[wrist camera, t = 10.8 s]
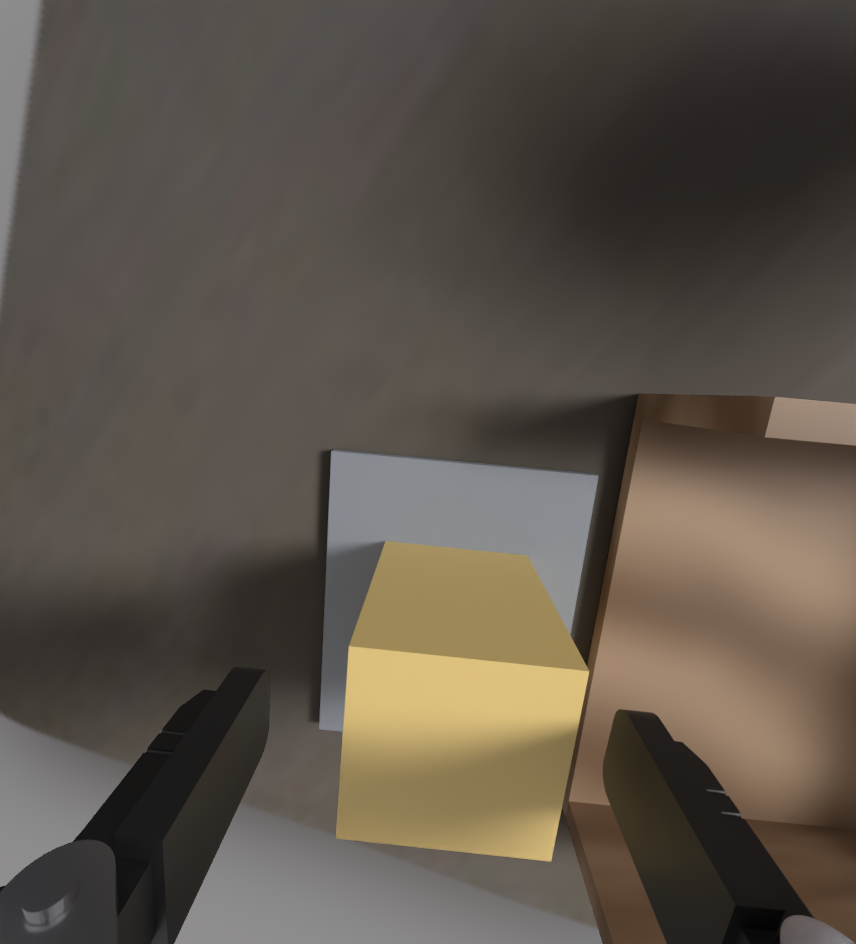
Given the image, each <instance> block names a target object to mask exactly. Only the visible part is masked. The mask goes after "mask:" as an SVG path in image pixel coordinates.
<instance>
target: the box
mask: <svg viewBox="0 0 856 944" xmlns="http://www.w3.org/2000/svg"><path fill="white" fill-rule="evenodd" d="M587 668H588V670H589V676H588V681H587V686H586V691H585V696H584V701H583V706H582V711H581V716H580V721H579V726H578V731H577V736H576V741H575V745H574V750H573V755H572V760H571V765H570V770H569V775H568V780H567V785H566V790H565V795H564V800H563V805H562V808H563V811H564V814H565V818H566V821H567V825H568V828H569V831H570V835H571V838H572V841H573V845H574V848H575V852H576V855H577V858H578V862H579V865H580V868H581V872H582V875H583V879H584V882H585V885H586V889H587V892H588V895H589V899H590V902H591V906H592V909H593V912H594V916H595V919H596V922H597V926H598V929H599V933H600V936H601V939H602V943H603V944H667V943H666V941H665V938H664V936H663V933H662V931H661V928H660V926H659V923H658V921H657V919H656V916H655V914H654V911H653V909H652V906H651V904H650V901H649V899H648V896H647V894H646V891H645V889H644V887H643V884H642V882H641V879H640V877H639V874H638V872H637V869H636V867H635V864H634V862H633V859H632V857H631V854H630V852H629V850H628V847H627V845H626V842H625V840H624V837H623V835H622V832H621V830H620V827H619V825H618V822H617V820H616V818H615V815H614V813H613V810H612V808H611V805H610V803H609V800H608V798H607V795H606V792H605V787H604V782H603V761H604V756H605V752H606V748H607V744H608V740H609V736H610V732H611V727H612V723H613V719H614V716H615V713H616V711H617V710H619V709H624V710H633V711H643V712H652V713H654V714H656V715H657V716H658V717H659V718H660V720H661V721H662V723H663V724H664V726H665V727H666V729H667V730H668V732H669V733H670V735H671V737H672V738H673V740H674V741H678V742H683V743H684V744H685V745H686V746H687V747H688V748H689V749H690V750H692V751H693V752H694V753H695V754H696V755H697V756H698V757H699V758H700V759H701V760H702V761H703V762H705V763H706V764H707V766H708V767H709V768H710V770H711V771H712V773H713V774H714V776H715V777H716V778H717V780H718V781H719V783H720V784H721V786H722V787H723V788H724V790H725V794H726V796H729V797H730V799H731V800H732V801H733V803H734V804H735V806H736V807H737V809H738V810H739V811H740V814H741V817H742V819H745V820H746V821H747V823H748V824H749V826H750V827H751V829H752V830H753V831H754V833H755V834H756V836H757V837H758V839H759V840H760V841H761V843H762V844H763V846H764V847H765V849H766V850H767V851H768V853H769V854H770V856H771V857H772V859H773V860H774V861H775V863H776V864H777V866H778V867H779V869H780V870H781V871H782V873H783V874H784V876H785V877H786V879H787V880H788V881H789V883H790V884H791V886H792V887H793V889H794V890H795V891H796V893H797V894H798V896H799V897H800V899H801V900H802V902H803V903H804V904H805V906H806V907H807V909H808V910H809V912H810V913H811V914H812V915H813V917H814V918H815V919H817V920H819V921H821V922H824V923H826V924H828V925H829V926H831V927H833V928H835V929H836V930H838V931H839V932H841V933H842V934H844V935H845V936H846V937H848V938H849V939H850V940H852V941H853V942H854V943H855V944H856V404H848V403H837V402H826V401H815V400H804V399H793V398H783V397H761V396H718V395H674V394H639V395H638V400H637V406H636V411H635V416H634V421H633V427H632V432H631V437H630V443H629V448H628V453H627V458H626V464H625V469H624V474H623V479H622V485H621V490H620V495H619V500H618V506H617V511H616V516H615V522H614V527H613V532H612V537H611V543H610V548H609V553H608V558H607V564H606V569H605V574H604V579H603V585H602V590H601V595H600V601H599V606H598V611H597V616H596V622H595V627H594V632H593V637H592V643H591V648H590V653H589V658H588V664H587Z"/></svg>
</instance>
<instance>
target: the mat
mask: <svg viewBox="0 0 856 944" xmlns="http://www.w3.org/2000/svg"><path fill="white" fill-rule="evenodd" d="M597 482H598V475H596V474H594V473H584V472H573V471H562V470H551V469H541V468H530V467H519V466H509V465H498V464H487V463H476V462H466V461H455V460H444V459H433V458H423V457H412V456H401V455H391V454H380V453H369V452H358V451H348V450H337V449H334V450H332V451H331V469H330V492H329V515H328V538H327V561H326V584H325V607H324V630H323V653H322V676H321V699H320V722H319V729H322V730H333V731H343V725H344V711H345V696H346V681H347V666H348V652H349V644H350V642H351V639H352V636H353V633H354V630H355V627H356V624H357V621H358V619H359V616H360V613H361V610H362V607H363V604H364V601H365V599H366V596H367V593H368V590H369V587H370V584H371V581H372V578H373V576H374V573H375V570H376V567H377V564H378V561H379V558H380V556H381V553H382V550H383V547H384V544H385V541H390V542H400V543H410V544H419V545H429V546H439V547H449V548H458V549H468V550H478V551H487V552H497V553H507V554H516V555H526V556H528V557H529V559H530V561H531V563H532V565H533V567H534V569H535V570H536V572H537V574H538V576H539V578H540V580H541V582H542V583H543V585H544V587H545V589H546V591H547V593H548V595H549V597H550V598H551V600H552V602H553V604H554V606H555V608H556V610H557V612H558V613H559V615H560V617H561V619H562V621H563V623H564V625H565V626H566V628H567V630H568V632H569V634H571V628H572V623H573V617H574V611H575V606H576V600H577V594H578V589H579V583H580V577H581V572H582V566H583V561H584V555H585V549H586V544H587V538H588V532H589V527H590V521H591V516H592V510H593V504H594V499H595V493H596V487H597Z"/></svg>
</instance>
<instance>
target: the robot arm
mask: <svg viewBox="0 0 856 944" xmlns="http://www.w3.org/2000/svg"><path fill="white" fill-rule="evenodd" d="M269 707H270V673H269V671H267V670H259V669H249V668H240V667H235V668H233V669H232V670H231V671H230V673H229V674H228V675H227V677H226V678H225V680H224V681H223V682H222V684H221V685H220V687H219V688H218V689H217V691H211V690H203V691H201V692H200V693H199V694H197V695H196V696H194V697H193V698H192V699H190V700H189V701H188V702H186V703H185V704H183V705H182V706H181V707H180V708H179V709H178V710H177V711H176V713H175V714H174V715H173V716H172V718H171V719H170V720H169V721H168V723H167V724H166V725H165V727H164V728H163V730H162V733H161V734H158V735H157V737H156V738H155V739H154V740H153V742H152V743H151V744H150V746H149V747H148V749H147V752H146V753H143V754H142V756H141V757H140V758H139V760H138V761H137V762H136V763H135V765H134V766H133V767H132V768H131V770H130V771H129V772H128V773H127V775H126V776H125V777H124V779H123V780H122V781H121V783H120V784H119V785H118V786H117V787H116V789H115V790H114V791H113V792H112V794H111V795H110V796H109V798H108V799H107V800H106V801H105V803H104V804H103V805H102V806H101V808H100V809H99V810H98V811H97V813H96V814H95V815H94V817H93V818H92V819H91V820H90V822H89V823H88V824H87V825H86V827H85V828H84V829H83V830H82V832H81V833H80V834H79V835H78V836H77V837H76V839H75V840H74V841H73V842H71V843H68V844H65V845H63V846H60V847H58V848H55V849H53V850H52V851H50V852H48V853H46V854H44V855H43V856H41V857H39V858H38V859H36V860H35V861H33V862H32V863H31V864H29V865H28V866H26V867H25V868H24V869H23V870H22V871H21V872H20V873H18V874H17V875H16V876H15V877H14V878H13V879H12V880H11V881H10V882H9V883H8V884H7V885H6V886H2V887H0V944H174V942H175V940H176V938H177V936H178V934H179V932H180V930H181V927H182V925H183V923H184V921H185V919H186V917H187V915H188V913H189V910H190V908H191V906H192V904H193V902H194V899H195V897H196V896H197V893H198V891H199V889H200V887H201V885H202V883H203V880H204V878H205V876H206V874H207V872H208V870H209V867H210V866H211V863H212V861H213V859H214V857H215V855H216V853H217V851H218V849H219V846H220V844H221V842H222V840H223V838H224V835H225V834H226V831H227V829H228V827H229V825H230V823H231V821H232V818H233V817H234V814H235V812H236V810H237V808H238V806H239V804H240V802H241V799H242V797H243V795H244V793H245V791H246V789H247V787H248V785H249V782H250V780H251V778H252V776H253V774H254V772H255V770H256V767H257V765H258V763H259V761H260V759H261V756H262V754H263V751H264V748H265V745H266V741H267V736H268V731H269ZM603 782H604V787H605V792H606V795H607V798H608V800H609V803H610V805H611V808H612V810H613V813H614V815H615V818H616V820H617V822H618V825H619V827H620V830H621V832H622V835H623V837H624V840H625V842H626V845H627V847H628V850H629V852H630V854H631V857H632V859H633V862H634V864H635V867H636V869H637V872H638V874H639V877H640V879H641V882H642V884H643V887H644V889H645V891H646V894H647V896H648V899H649V901H650V904H651V906H652V909H653V911H654V914H655V916H656V919H657V921H658V923H659V926H660V928H661V931H662V933H663V936H664V938H665V941H666V943H667V944H855V943H854V942H853V941H852V940H850V939H849V938H848V937H846V936H845V935H844V934H842V933H841V932H839V931H838V930H836V929H835V928H833V927H831V926H829V925H828V924H826V923H824V922H821V921H819V920H817V919H815V918H814V917H813V915H812V914H811V913H810V912H809V910H808V909H807V907H806V906H805V904H804V903H803V902H802V900H801V899H800V897H799V896H798V894H797V893H796V891H795V890H794V889H793V887H792V886H791V884H790V883H789V881H788V880H787V879H786V877H785V876H784V874H783V873H782V871H781V870H780V869H779V867H778V866H777V864H776V863H775V861H774V860H773V859H772V857H771V856H770V854H769V853H768V851H767V850H766V849H765V847H764V846H763V844H762V843H761V841H760V840H759V839H758V837H757V836H756V834H755V833H754V831H753V830H752V829H751V827H750V826H749V824H748V823H747V821H746V820H745V819H742V817H741V814H740V811H739V810H738V809H737V807H736V806H735V804H734V803H733V801H732V800H731V799H730V797H729V796H726V794H725V790H724V788H723V787H722V786H721V784H720V783H719V781H718V780H717V778H716V777H715V776H714V774H713V773H712V771H711V770H710V768H709V767H708V766H707V764H706V763H705V762H703V761H702V760H701V759H700V758H699V757H698V756H697V755H696V754H695V753H694V752H693V751H692V750H690V749H689V748H688V747H687V746H686V745H685V744H684V743H683V742H678V741H674V740H673V738H672V737H671V735H670V733H669V732H668V730H667V729H666V727H665V726H664V724H663V723H662V721H661V720H660V718H659V717H658V716H657V715H656V714H654V713H652V712H643V711H633V710H624V709H619V710H617V711H616V713H615V716H614V719H613V723H612V727H611V732H610V736H609V740H608V744H607V748H606V752H605V756H604V761H603Z"/></svg>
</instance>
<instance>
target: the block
mask: <svg viewBox="0 0 856 944" xmlns="http://www.w3.org/2000/svg"><path fill="white" fill-rule="evenodd" d="M588 676H589V670H588V668H587V666H586V664H585V662H584V660H583V658H582V656H581V655H580V653H579V651H578V649H577V647H576V645H575V643H574V641H573V640H572V638H571V636H570V634H569V632H568V630H567V628H566V626H565V625H564V623H563V621H562V619H561V617H560V615H559V613H558V612H557V610H556V608H555V606H554V604H553V602H552V600H551V598H550V597H549V595H548V593H547V591H546V589H545V587H544V585H543V583H542V582H541V580H540V578H539V576H538V574H537V572H536V570H535V569H534V567H533V565H532V563H531V561H530V559H529V557H528V556H526V555H516V554H507V553H497V552H487V551H478V550H468V549H458V548H449V547H439V546H429V545H419V544H410V543H400V542H390V541H385V544H384V547H383V550H382V553H381V556H380V558H379V561H378V564H377V567H376V570H375V573H374V576H373V578H372V581H371V584H370V587H369V590H368V593H367V596H366V599H365V601H364V604H363V607H362V610H361V613H360V616H359V619H358V621H357V624H356V627H355V630H354V633H353V636H352V639H351V642H350V644H349V652H348V666H347V681H346V696H345V711H344V725H343V740H342V755H341V770H340V785H339V799H338V814H337V829H336V838H337V839H346V840H355V841H365V842H374V843H383V844H393V845H402V846H411V847H421V848H430V849H439V850H449V851H458V852H467V853H477V854H486V855H495V856H505V857H514V858H524V859H533V860H542V861H551V859H552V854H553V849H554V844H555V839H556V835H557V830H558V825H559V820H560V815H561V810H562V805H563V800H564V795H565V790H566V785H567V780H568V775H569V770H570V765H571V760H572V755H573V750H574V745H575V741H576V736H577V731H578V726H579V721H580V716H581V711H582V706H583V701H584V696H585V691H586V686H587V681H588Z"/></svg>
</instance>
